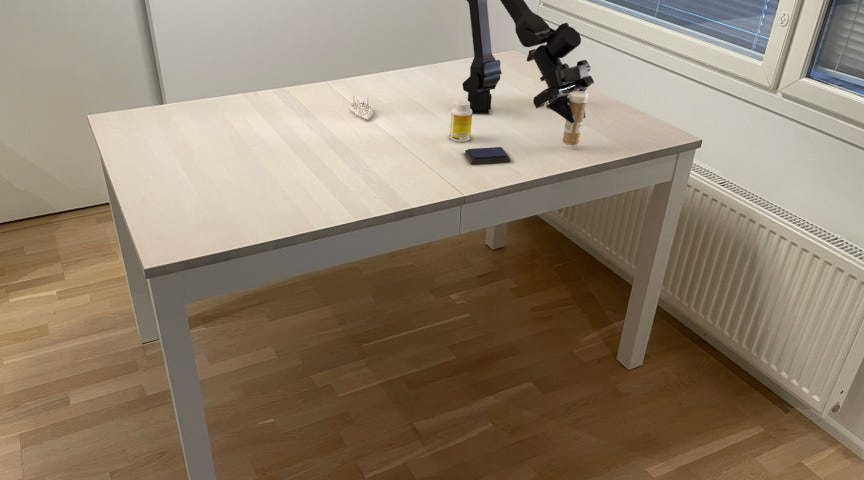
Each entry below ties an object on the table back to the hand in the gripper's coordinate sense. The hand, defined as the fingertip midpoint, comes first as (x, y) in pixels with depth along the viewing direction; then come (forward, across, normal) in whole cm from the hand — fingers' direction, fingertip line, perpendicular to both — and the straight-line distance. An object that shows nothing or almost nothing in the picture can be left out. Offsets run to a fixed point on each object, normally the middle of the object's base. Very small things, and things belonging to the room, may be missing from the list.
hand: (578, 120), depth 186 cm
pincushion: (-33, -27, +46) cm, 63 cm away
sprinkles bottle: (+4, 0, +6) cm, 7 cm away
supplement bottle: (-11, -18, +23) cm, 31 cm away
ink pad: (-2, -22, +14) cm, 26 cm away
